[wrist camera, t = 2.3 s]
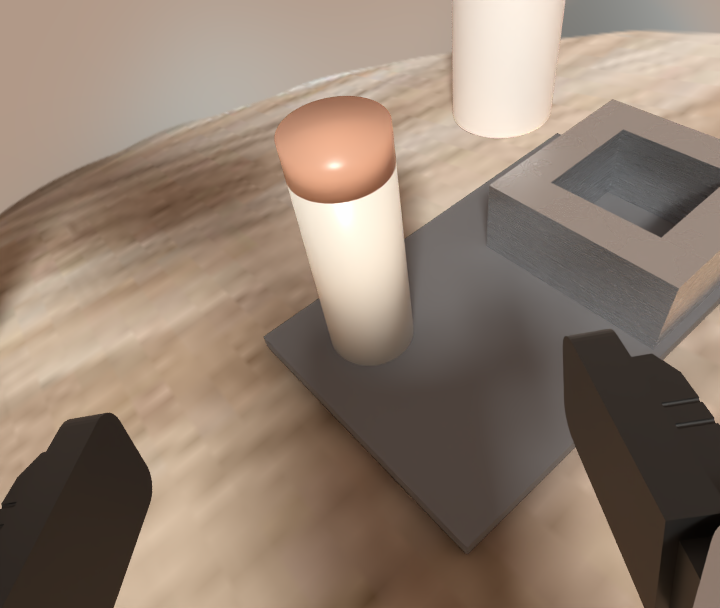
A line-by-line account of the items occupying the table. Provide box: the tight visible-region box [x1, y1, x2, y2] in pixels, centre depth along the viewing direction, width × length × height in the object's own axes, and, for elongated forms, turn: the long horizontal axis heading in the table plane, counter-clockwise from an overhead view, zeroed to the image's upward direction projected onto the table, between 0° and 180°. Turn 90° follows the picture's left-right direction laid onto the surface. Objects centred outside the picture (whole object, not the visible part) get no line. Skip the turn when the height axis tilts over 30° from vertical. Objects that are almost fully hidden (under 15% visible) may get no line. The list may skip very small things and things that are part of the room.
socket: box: [486, 99, 720, 350], centre depth 35 cm, size 12×12×5 cm
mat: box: [264, 133, 720, 554], centre depth 36 cm, size 17×28×1 cm, turn 130°
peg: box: [275, 96, 414, 366], centre depth 30 cm, size 5×5×14 cm
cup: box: [452, 0, 565, 138], centre depth 44 cm, size 8×8×16 cm
